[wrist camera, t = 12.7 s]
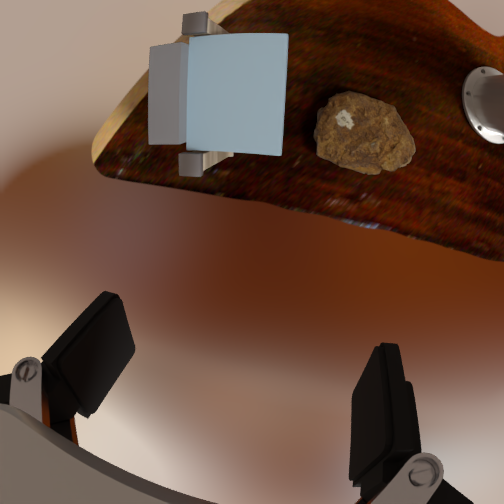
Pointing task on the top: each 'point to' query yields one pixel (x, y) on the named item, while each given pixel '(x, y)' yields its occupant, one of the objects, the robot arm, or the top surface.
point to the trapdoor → (219, 93)
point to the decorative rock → (362, 134)
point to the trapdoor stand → (197, 160)
